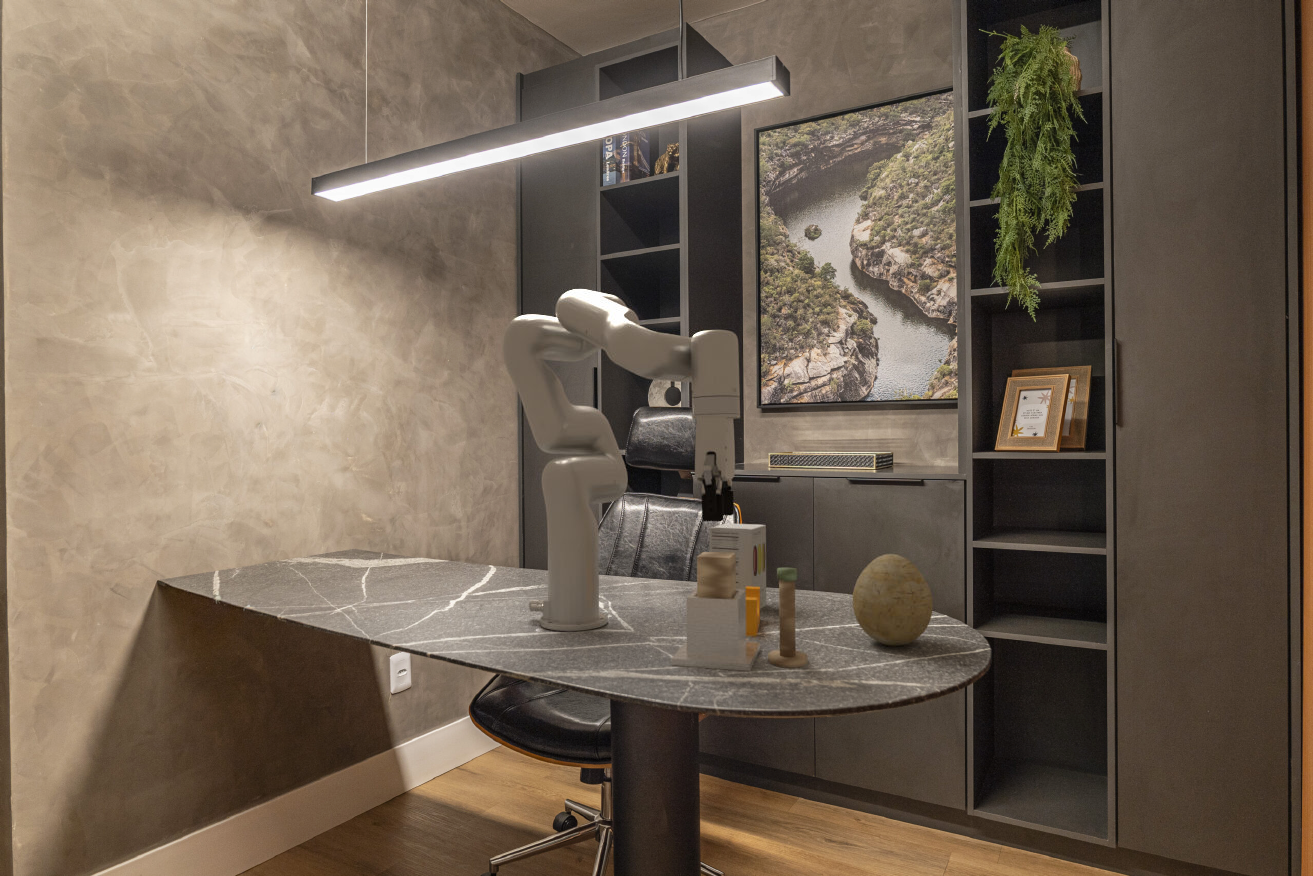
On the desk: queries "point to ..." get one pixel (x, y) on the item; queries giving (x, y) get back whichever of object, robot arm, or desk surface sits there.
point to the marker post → (787, 623)
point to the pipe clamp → (752, 610)
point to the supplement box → (744, 553)
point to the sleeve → (717, 634)
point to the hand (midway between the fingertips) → (718, 518)
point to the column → (716, 575)
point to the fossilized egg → (892, 600)
